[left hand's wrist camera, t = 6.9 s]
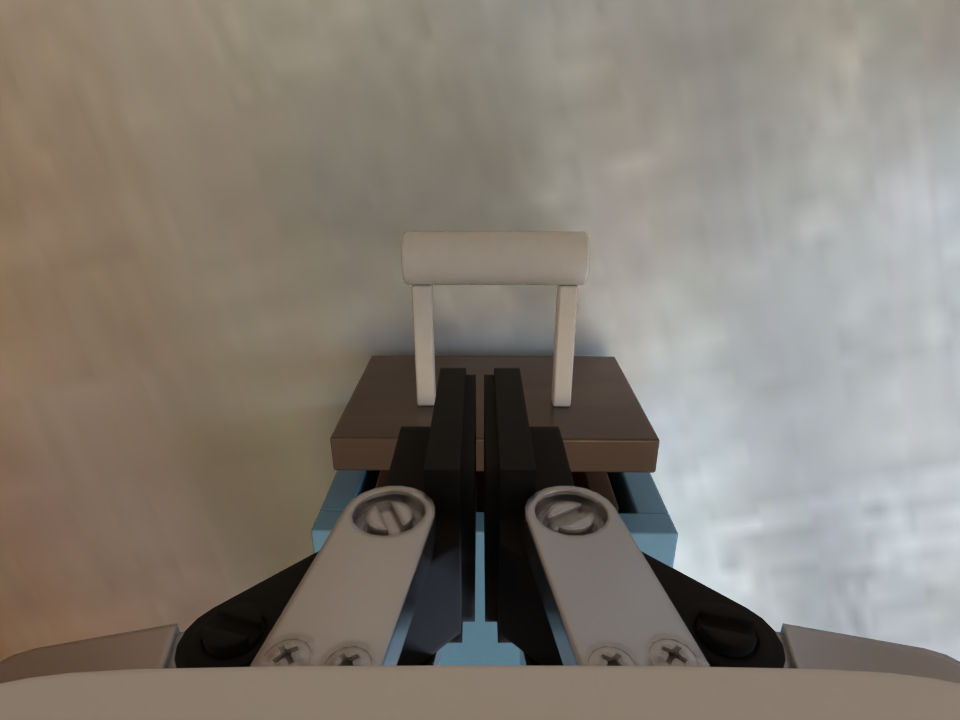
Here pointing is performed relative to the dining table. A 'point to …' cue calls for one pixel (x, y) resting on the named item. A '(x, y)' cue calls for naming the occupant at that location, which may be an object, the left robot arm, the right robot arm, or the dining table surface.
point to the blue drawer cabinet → (480, 638)
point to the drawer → (501, 364)
